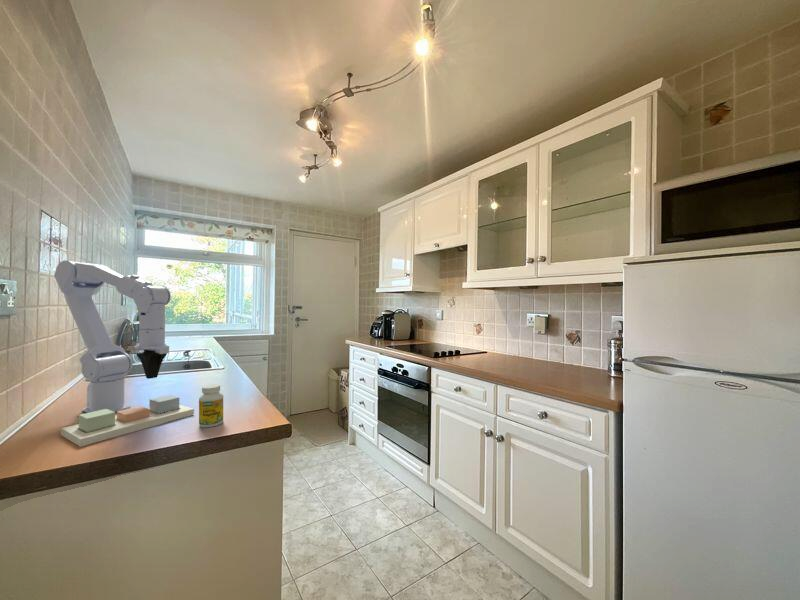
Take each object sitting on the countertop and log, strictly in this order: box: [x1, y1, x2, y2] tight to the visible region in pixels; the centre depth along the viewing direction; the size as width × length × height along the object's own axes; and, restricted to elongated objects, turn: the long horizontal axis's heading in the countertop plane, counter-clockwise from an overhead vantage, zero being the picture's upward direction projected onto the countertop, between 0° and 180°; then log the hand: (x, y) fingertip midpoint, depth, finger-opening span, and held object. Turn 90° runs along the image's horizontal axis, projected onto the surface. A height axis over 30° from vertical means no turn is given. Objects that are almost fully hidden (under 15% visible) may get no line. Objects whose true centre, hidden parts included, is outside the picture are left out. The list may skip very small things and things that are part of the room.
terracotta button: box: [116, 405, 150, 423], centre depth 82 cm, size 5×5×3 cm
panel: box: [60, 403, 195, 448], centre depth 82 cm, size 12×23×2 cm, turn 150°
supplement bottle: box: [198, 384, 224, 428], centre depth 82 cm, size 5×5×10 cm
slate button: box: [148, 394, 180, 415], centre depth 88 cm, size 5×5×3 cm
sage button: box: [78, 409, 116, 433], centre depth 76 cm, size 5×5×3 cm
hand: (151, 377), depth 90 cm, fingers closed
